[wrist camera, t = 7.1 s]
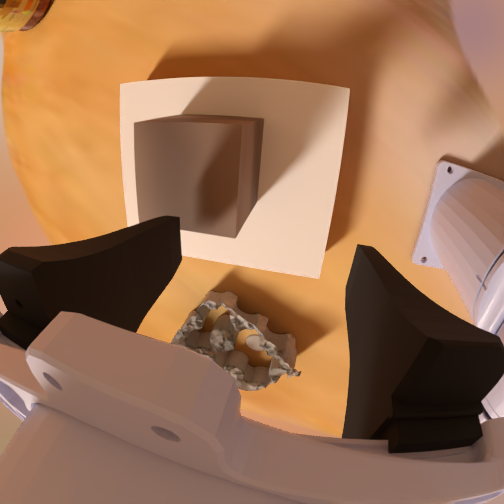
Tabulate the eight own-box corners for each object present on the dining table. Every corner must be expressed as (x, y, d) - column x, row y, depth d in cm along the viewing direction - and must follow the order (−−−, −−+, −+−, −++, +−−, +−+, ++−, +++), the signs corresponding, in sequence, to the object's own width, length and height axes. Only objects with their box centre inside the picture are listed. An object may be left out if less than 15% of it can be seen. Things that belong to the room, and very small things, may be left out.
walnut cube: (264, 118, 15) (242, 124, 11) (257, 202, 17) (235, 238, 13) (180, 114, 16) (133, 122, 11) (180, 192, 18) (139, 223, 14)
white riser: (344, 90, 16) (350, 88, 13) (319, 256, 22) (318, 278, 19) (144, 83, 18) (120, 83, 15) (149, 229, 24) (130, 245, 21)
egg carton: (310, 344, 27) (307, 377, 23) (259, 373, 30) (251, 403, 27) (222, 275, 25) (206, 305, 21) (179, 317, 28) (162, 345, 25)
